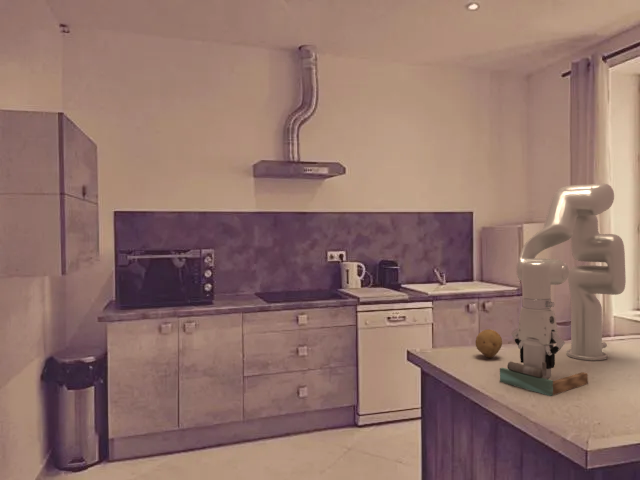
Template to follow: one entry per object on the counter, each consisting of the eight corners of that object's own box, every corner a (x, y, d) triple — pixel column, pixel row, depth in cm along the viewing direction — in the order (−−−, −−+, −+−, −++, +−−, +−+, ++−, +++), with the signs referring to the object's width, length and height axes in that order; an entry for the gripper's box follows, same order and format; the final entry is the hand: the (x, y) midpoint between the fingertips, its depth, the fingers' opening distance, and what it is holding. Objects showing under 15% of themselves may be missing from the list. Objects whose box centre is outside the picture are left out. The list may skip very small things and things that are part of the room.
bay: (537, 371, 164) (537, 344, 164) (587, 383, 151) (587, 354, 151) (498, 382, 154) (498, 353, 154) (548, 396, 141) (548, 364, 140)
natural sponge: (498, 362, 176) (498, 333, 175) (472, 359, 180) (471, 330, 180) (504, 356, 183) (504, 328, 183) (479, 353, 188) (478, 326, 188)
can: (554, 382, 147) (553, 340, 146) (526, 381, 148) (525, 339, 148) (548, 374, 154) (547, 334, 154) (521, 374, 156) (520, 333, 155)
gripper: (572, 306, 145) (573, 369, 146) (518, 299, 160) (519, 357, 160) (557, 309, 141) (557, 374, 142) (502, 302, 156) (503, 361, 156)
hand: (537, 364), depth 151 cm, fingers closed on can, 7 cm apart
